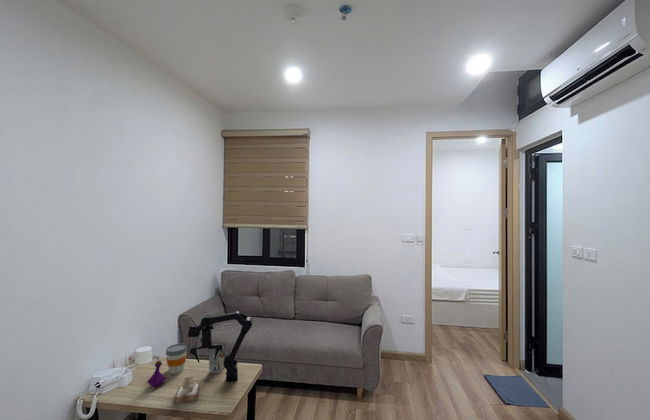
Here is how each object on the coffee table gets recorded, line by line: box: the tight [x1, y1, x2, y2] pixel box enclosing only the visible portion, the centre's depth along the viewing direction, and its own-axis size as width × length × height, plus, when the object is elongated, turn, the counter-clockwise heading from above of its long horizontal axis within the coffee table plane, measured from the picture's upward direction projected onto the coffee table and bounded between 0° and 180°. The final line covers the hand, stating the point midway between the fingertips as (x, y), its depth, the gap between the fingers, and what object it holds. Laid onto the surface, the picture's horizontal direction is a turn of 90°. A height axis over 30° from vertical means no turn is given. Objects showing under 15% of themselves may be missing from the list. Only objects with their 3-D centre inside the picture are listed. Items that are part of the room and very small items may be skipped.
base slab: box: [173, 382, 202, 405], centre depth 173 cm, size 12×12×3 cm
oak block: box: [182, 376, 194, 393], centre depth 173 cm, size 5×5×6 cm
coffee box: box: [208, 341, 226, 374], centre depth 202 cm, size 9×6×16 cm
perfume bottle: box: [147, 354, 167, 388], centre depth 184 cm, size 8×8×18 cm
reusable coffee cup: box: [165, 343, 188, 375], centre depth 202 cm, size 13×13×15 cm
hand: (206, 361), depth 188 cm, fingers open, 9 cm apart
